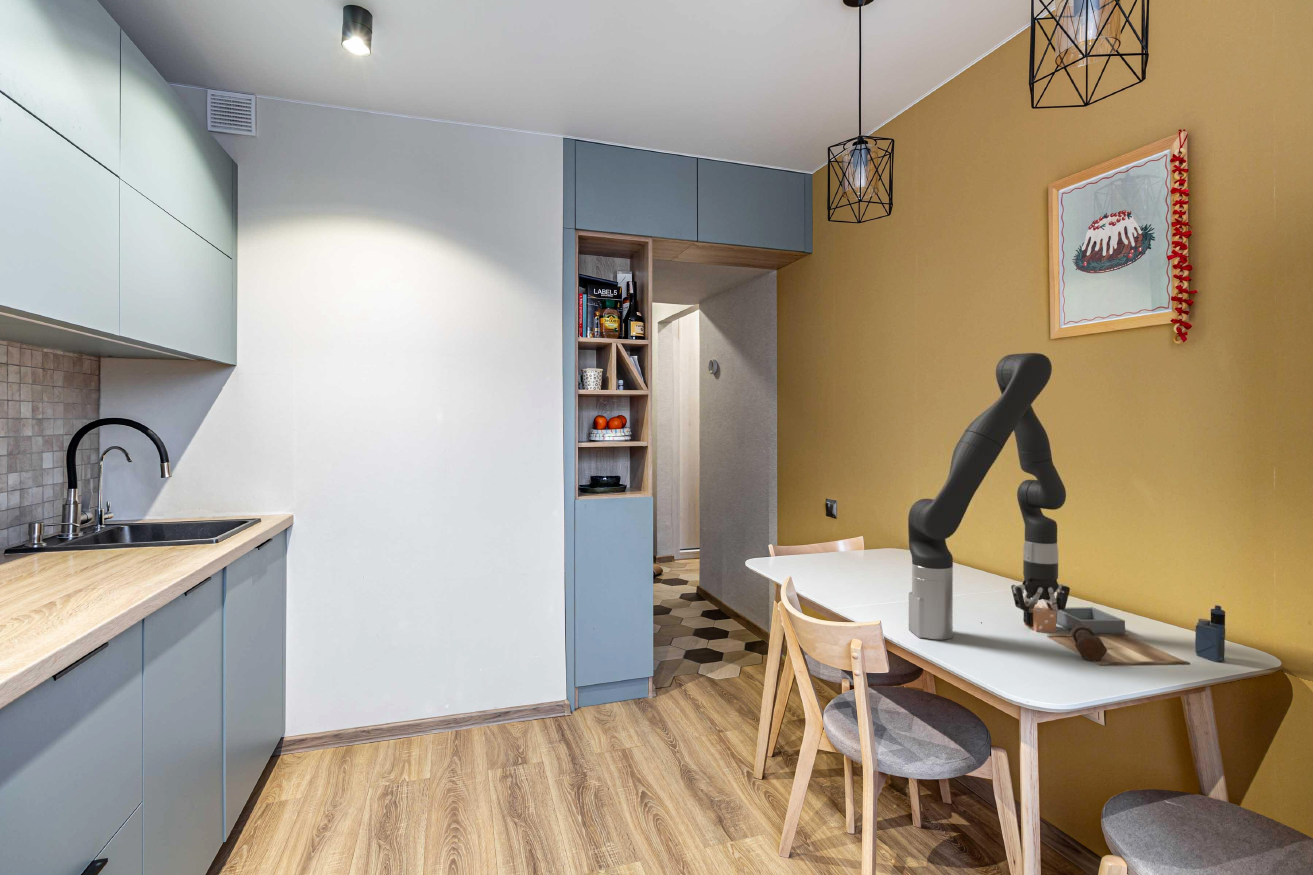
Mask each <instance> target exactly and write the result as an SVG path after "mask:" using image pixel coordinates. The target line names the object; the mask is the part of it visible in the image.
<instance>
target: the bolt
mask: <svg viewBox="0 0 1313 875" xmlns="http://www.w3.org/2000/svg"><path fill="white" fill-rule="evenodd" d="M1069 635H1071V636H1072V637H1073V639H1074V640H1075V642H1076V644H1075V646H1076V648H1077V650H1078V651H1079V653H1080V654H1081V655H1080V654H1079V655H1080V656H1081V657H1082V659H1083V660H1089V661H1091V660H1093V661H1100V660H1101V659H1102V658H1103V656H1104V655H1105V654H1106V652H1107V649H1106V647H1105V646H1104V644H1103V643H1102V641H1101V640H1100V638H1099V637H1098V636H1095V634H1094V633H1093V631H1092V630H1091V628H1090V627H1089V626H1085V625H1080V624H1076V625H1074V627H1073V628H1072V631H1071V630H1070V632H1069ZM1093 661H1092V662H1093Z"/></svg>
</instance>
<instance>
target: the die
mask: <svg viewBox="0 0 1313 875" xmlns="http://www.w3.org/2000/svg"><path fill="white" fill-rule="evenodd" d="M1032 613H1033V627H1029V626H1027V625H1026V624H1025V623H1024V622H1023V626H1025V627H1027V628H1029V629H1030V630H1032V631H1034V632H1035V633H1046V632H1047V633H1053V632H1054V633H1055V632H1057V624H1056V611H1054V610H1051V609H1049V608H1047V606H1044V605H1035V606H1034V609H1033V612H1032Z"/></svg>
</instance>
